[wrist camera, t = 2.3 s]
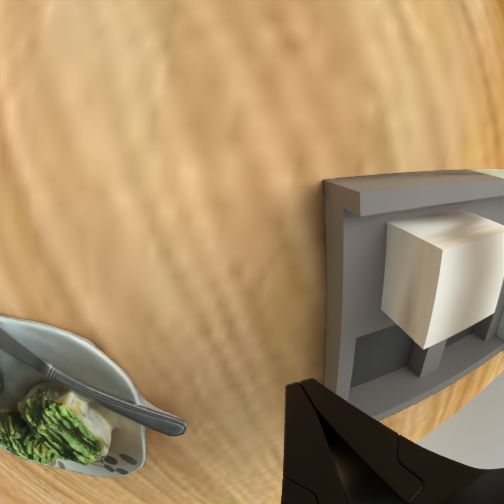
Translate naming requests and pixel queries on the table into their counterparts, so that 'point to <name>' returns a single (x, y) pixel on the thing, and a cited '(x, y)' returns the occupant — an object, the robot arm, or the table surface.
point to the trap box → (371, 288)
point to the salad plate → (72, 403)
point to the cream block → (442, 273)
